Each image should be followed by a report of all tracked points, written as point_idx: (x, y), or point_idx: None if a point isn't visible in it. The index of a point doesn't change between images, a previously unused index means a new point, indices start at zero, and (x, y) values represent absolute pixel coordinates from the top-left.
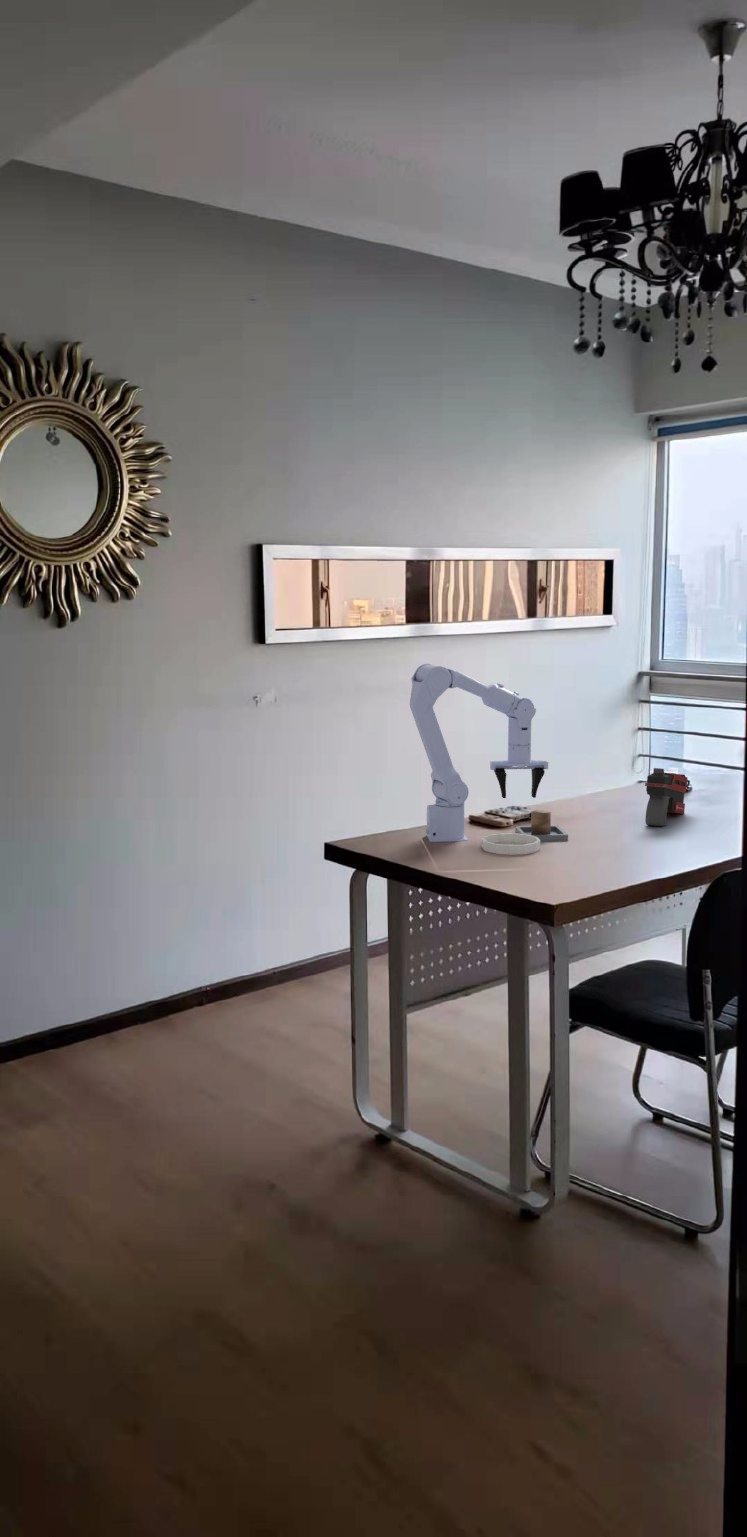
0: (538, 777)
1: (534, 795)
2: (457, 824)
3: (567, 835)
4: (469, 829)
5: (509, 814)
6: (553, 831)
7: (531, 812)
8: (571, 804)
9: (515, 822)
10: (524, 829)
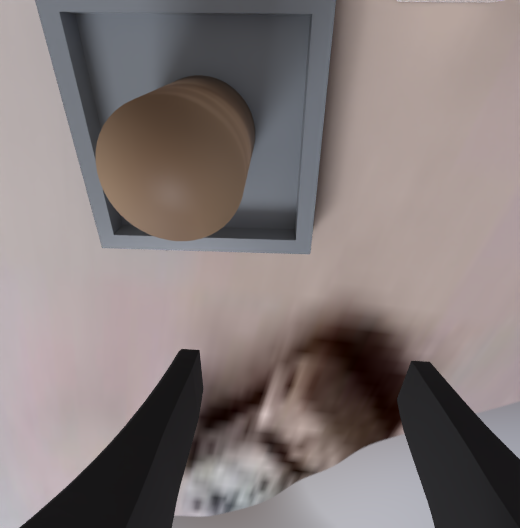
0: (83, 518)
1: (185, 360)
2: None
3: None
4: (465, 329)
5: (252, 465)
6: None
7: (244, 183)
8: None
9: (258, 392)
10: (269, 233)
